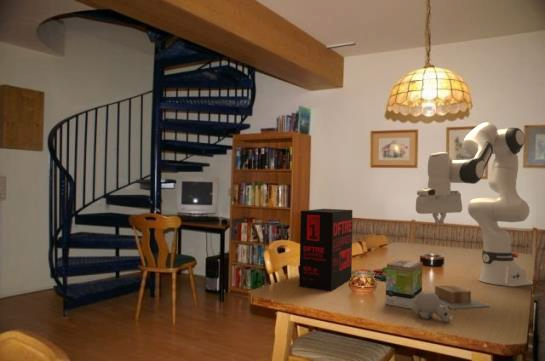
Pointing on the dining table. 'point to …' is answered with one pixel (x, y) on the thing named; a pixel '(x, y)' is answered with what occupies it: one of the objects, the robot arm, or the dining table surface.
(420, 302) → the round bodied animal figurine
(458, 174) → the robot arm
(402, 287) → the tea box
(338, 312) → the dining table surface
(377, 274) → the gear puzzle
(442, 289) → the walnut block
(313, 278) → the product box
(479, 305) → the mat
